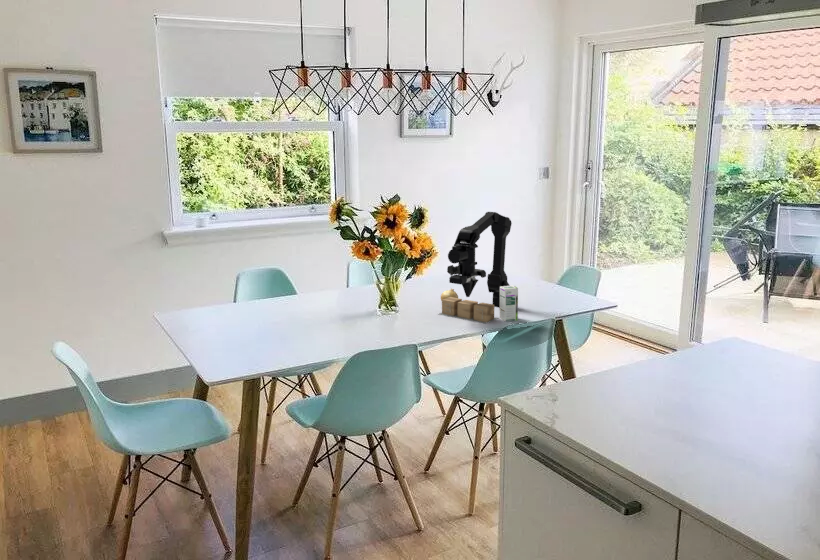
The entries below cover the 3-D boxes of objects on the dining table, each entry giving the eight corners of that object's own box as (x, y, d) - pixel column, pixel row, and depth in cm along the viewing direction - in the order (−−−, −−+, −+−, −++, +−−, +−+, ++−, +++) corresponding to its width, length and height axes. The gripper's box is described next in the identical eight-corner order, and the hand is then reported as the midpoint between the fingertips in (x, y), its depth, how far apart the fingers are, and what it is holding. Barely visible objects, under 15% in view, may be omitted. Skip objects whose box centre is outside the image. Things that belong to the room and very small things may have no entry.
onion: (457, 306, 306) (457, 291, 304) (439, 306, 307) (439, 290, 306) (459, 302, 313) (459, 287, 312) (442, 301, 315) (442, 286, 313)
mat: (451, 311, 298) (451, 309, 298) (498, 320, 283) (498, 318, 283) (437, 316, 290) (437, 314, 290) (485, 326, 276) (485, 323, 275)
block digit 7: (481, 316, 286) (481, 302, 284) (494, 318, 282) (494, 304, 281) (473, 319, 281) (473, 305, 280) (485, 322, 277) (486, 307, 276)
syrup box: (504, 323, 278) (505, 288, 275) (499, 320, 284) (499, 285, 281) (517, 322, 280) (518, 287, 277) (511, 318, 285) (512, 284, 282)
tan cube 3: (450, 310, 295) (450, 296, 294) (461, 312, 292) (461, 299, 290) (441, 313, 291) (441, 299, 289) (453, 315, 287) (453, 301, 286)
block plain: (465, 313, 291) (465, 299, 289) (477, 315, 287) (477, 301, 286) (457, 316, 286) (457, 302, 285) (469, 318, 282) (469, 304, 281)
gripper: (464, 254, 293) (464, 289, 297) (438, 261, 279) (438, 298, 283) (486, 257, 287) (486, 293, 290) (461, 264, 272) (461, 302, 276)
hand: (467, 296), depth 285 cm, fingers closed
